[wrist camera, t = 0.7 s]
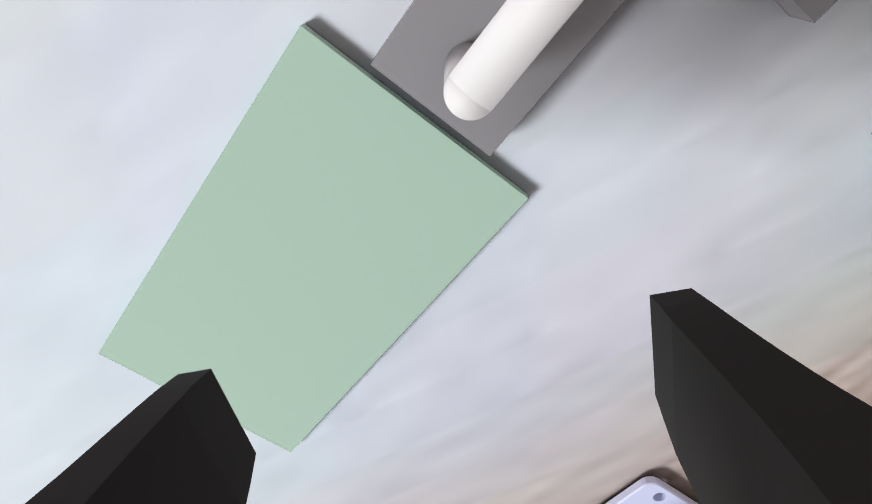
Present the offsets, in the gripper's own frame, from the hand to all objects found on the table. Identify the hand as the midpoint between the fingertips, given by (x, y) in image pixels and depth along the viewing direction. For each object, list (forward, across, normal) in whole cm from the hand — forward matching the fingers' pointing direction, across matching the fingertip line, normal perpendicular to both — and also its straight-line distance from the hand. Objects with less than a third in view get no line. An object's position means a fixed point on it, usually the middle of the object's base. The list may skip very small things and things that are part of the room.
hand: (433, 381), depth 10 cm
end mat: (+9, +6, +3) cm, 11 cm away
